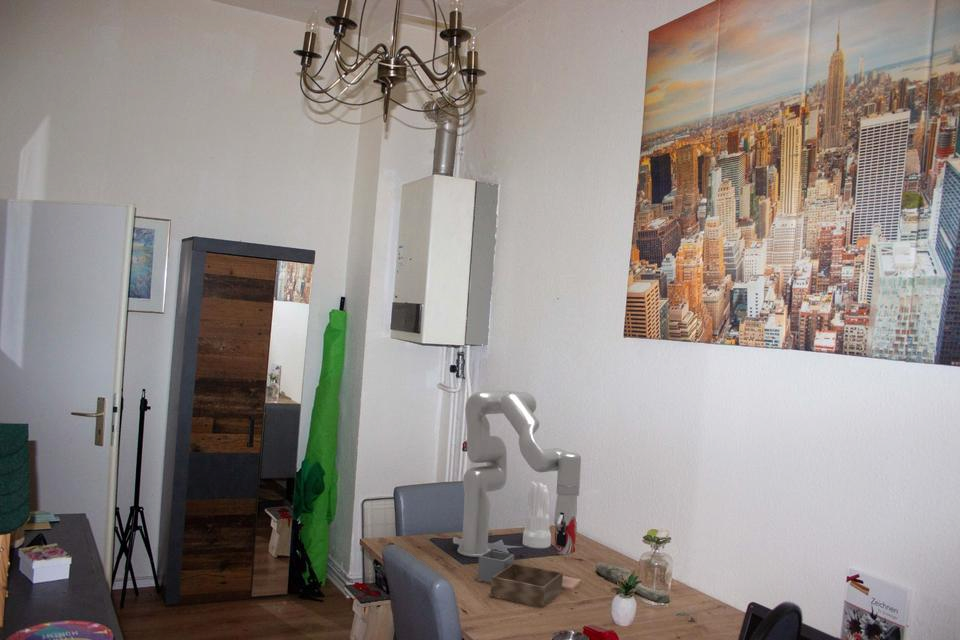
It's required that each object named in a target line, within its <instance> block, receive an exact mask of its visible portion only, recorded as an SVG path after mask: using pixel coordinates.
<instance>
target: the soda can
mask: <svg viewBox="0 0 960 640" xmlns="http://www.w3.org/2000/svg"><path fill="white" fill-rule="evenodd" d="M562 524H564V525H565V524H566V523H564V522H562ZM577 526H578V525H577V519H576V520H575V517H574V518H572V519H571V522H570V524H569V526H567V529H566V534H567V538H566V546H565V547H562V546H557V545H556V541H557V525H555V527H554V528H555V529H554V530H555V531H554V551H555V552H557V554H559V555H564V556H566V555H567V556H569V555H572V554H574V553H575V552H576V544H577V531H578V530H577V529H578V527H577ZM563 530H564V527H563Z"/></svg>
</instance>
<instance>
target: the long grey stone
mask: <svg viewBox="0 0 960 640" xmlns="http://www.w3.org/2000/svg"><path fill="white" fill-rule="evenodd" d="M595 569H596V572H597V573H599V574H600V576H602V577H603V576H604V579H607V581H609V580H610V581H611V583H615V584H617V583H616V582H617V581H619V580H620V575H622V576H623V578H624V580H627V579H628V577H629V576H630V575H631V574H632V573H633V572H634V571H632V570H631V569H627V568H625V567H623V566H622V567H621V566H618V565H614V564H610V563H608V562H597V563H596V564H595ZM664 590H665V589H664ZM664 590H655V589H651V588H648V587H645V586H643V585H642V584H640V583H639V584H638V585H637V586H636V592H635V593H636V594H638V595H639V596H642V597H643V598H645V599H647V600H651V601H654V602H656V603H660V604H661V603H662V604H663V603H664V604H665V603H666V604H667V603H669V601H670V594H669V593H668V592H667V591H666V590H665V591H664Z"/></svg>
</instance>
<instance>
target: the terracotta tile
mask: <svg viewBox="0 0 960 640" xmlns="http://www.w3.org/2000/svg"><path fill="white" fill-rule="evenodd" d="M580 582H581V583H582V579H580V578H576V577H575V578H574V577H570V576H566V575H565V576H564V575H563V581H562V589H564V588H565V590H569V591H573V590H574V589H575V588H576V587H578V586H579V584H580Z"/></svg>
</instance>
